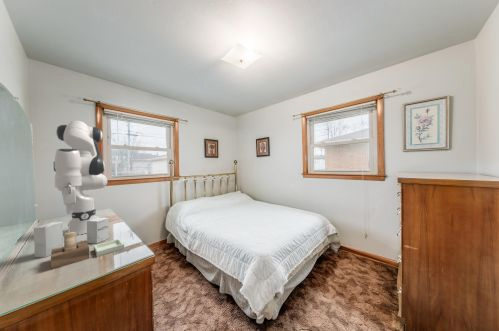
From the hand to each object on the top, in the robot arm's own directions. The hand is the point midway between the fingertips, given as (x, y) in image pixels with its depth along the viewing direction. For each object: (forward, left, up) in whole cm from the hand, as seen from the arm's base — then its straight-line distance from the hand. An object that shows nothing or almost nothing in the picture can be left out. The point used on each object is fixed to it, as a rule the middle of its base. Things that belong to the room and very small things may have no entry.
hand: (69, 212), depth 83 cm
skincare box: (-17, -7, -22) cm, 29 cm away
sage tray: (+2, +14, -22) cm, 26 cm away
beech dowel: (0, 0, -22) cm, 22 cm away
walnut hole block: (0, 0, -22) cm, 22 cm away
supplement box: (-18, +12, -22) cm, 31 cm away
